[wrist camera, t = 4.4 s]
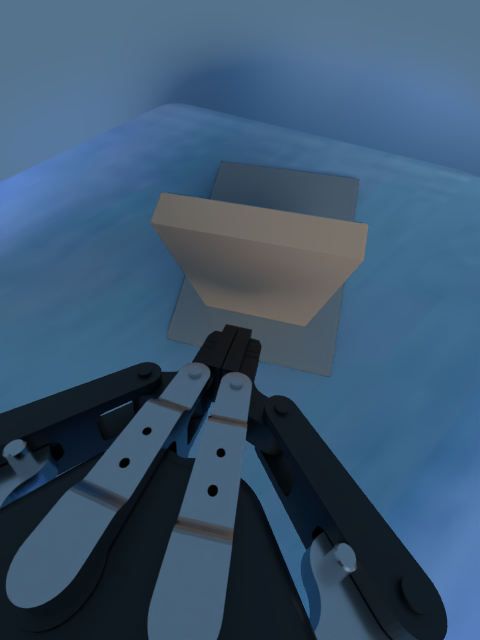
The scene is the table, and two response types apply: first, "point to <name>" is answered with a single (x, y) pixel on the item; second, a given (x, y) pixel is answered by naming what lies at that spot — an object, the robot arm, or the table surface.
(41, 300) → the table surface
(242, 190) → the mat
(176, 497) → the robot arm
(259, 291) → the tile
